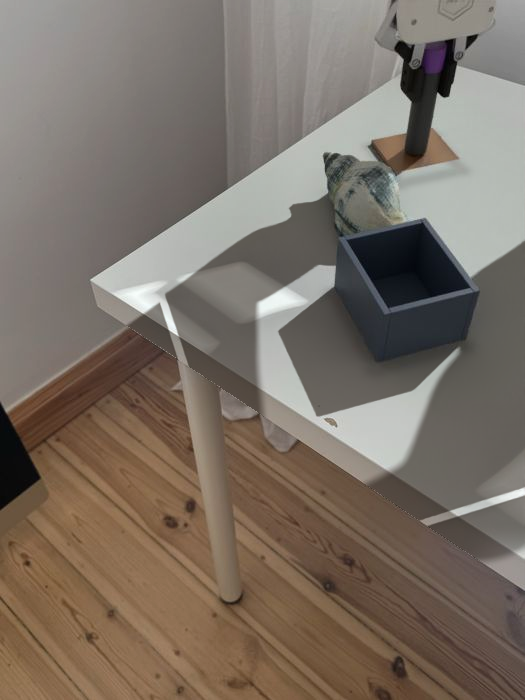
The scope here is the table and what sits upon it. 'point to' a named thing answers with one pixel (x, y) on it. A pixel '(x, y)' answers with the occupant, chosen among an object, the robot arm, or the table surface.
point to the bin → (404, 289)
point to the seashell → (362, 194)
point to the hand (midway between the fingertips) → (425, 92)
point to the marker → (425, 99)
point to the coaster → (402, 161)
